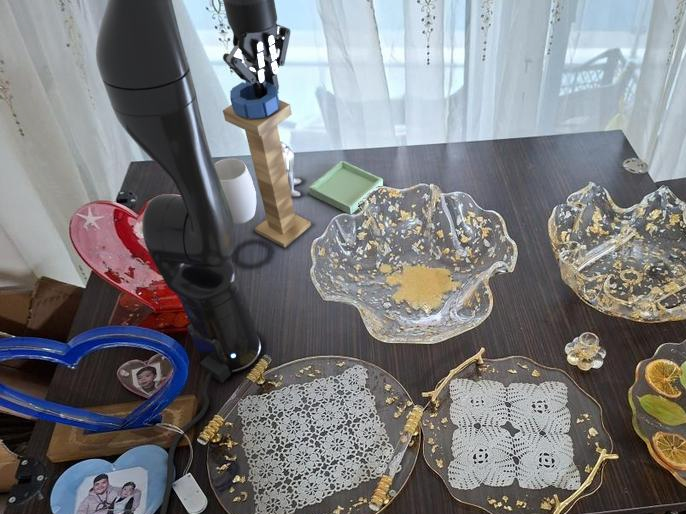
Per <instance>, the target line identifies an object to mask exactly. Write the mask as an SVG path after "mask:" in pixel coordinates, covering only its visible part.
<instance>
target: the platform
mask: <svg viewBox="0 0 686 514" xmlns="http://www.w3.org/2000/svg"><path fill="white" fill-rule="evenodd" d="M249 100H258V98H250V99H249ZM291 108H292V107H291V104H290V103H287V102H285V101H284V100H281V99H279V107H278V110H276V111H275V112H273V113H272V114H270V115H269V116H266V115H265V117H260V118H249V117H247V118H245V117H243V116H240V115H238V114H236V113H235V111H233V107H232V104H230V105H229V106H227V107H226V108H224V109H223V110H222V114H223V117H224V121H225V122H227V123H229V124H231V125H234V126H235V127H238V128H240V129H242V130H244V132H245V136H246V140H247V144H248V148H249V153H250V157H251V160H252V164H253V169H254V172H255V176H256V181H257V185H258V189H259V193H260V197H261V201H262V205H263V209H264V212H265V213H264V214H265V217H266V218H265V220H262V222H260V223H259V224H258V225H256V227H255V228H254V231H255V233H257V234H259V235H261V236H262V237H264V238H266V239H267V240H269V241H271V242H273V243H275V244H277V245H279V246H280V247H282V248H285V249H286V248H287V246H289V245H290V244H291V243H292V242H294V241H295V240H296V239H298V237H300V236H301V235H302V234H303V233H304V232H305V231H307V230H308V229H309V228H310V227H311V226H312V223H311V221H309V220H308V219H305V218H303V217H301V216H300V215H297V214H296V213H295V209H294V205H293V197H291V193H290V188H289V183H288V178H287V173H286V168H285V163H284V158H283V153H282V148H281V143H280V142H281V138H280V134H279V128H278V125H279V124H280V123H282V122H283V121H285V120H286V119H288V118H289V117H291V116H292V115H293V114H292V109H291Z"/></svg>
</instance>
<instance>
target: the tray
mask: <svg viewBox="0 0 686 514" xmlns="http://www.w3.org/2000/svg"><path fill="white" fill-rule="evenodd" d="M378 186H383V187H384V179H383V178H382V177H380V176H377V175H375V174H373V173H371V172H369V171H367V170H364V169H362V168H360V167H358V166H355V165H354V164H351V163H350V162H347V161H345V160H340V161H339V162H338V163H336V164H335V165H334V166H333V167H331V168H330V169H328V171H326V172H325V173H324V174H323V175H322V176H320V177H319V178H318V179H316V180H315V181H313V183H311V184H310V185H309V186H308V192H309V195H310V196H312V197H314V198H316V199H318V200H320V201H321V202H324V203H326V204H328V205H330V206H332V207H335V208H336V209H338V210H340V211H342V212H344V213H346V214H349V215H350V214H351V215H353V214H354V213H355V212H356V211H357V210H358V209H359V208H360V207H358V203H359V202H360V201H361V200H362V199H363V198H365V197H366V196H367V194H368V193H369V192H370V191H371V190H372V189H374V188H376V187H378Z"/></svg>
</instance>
